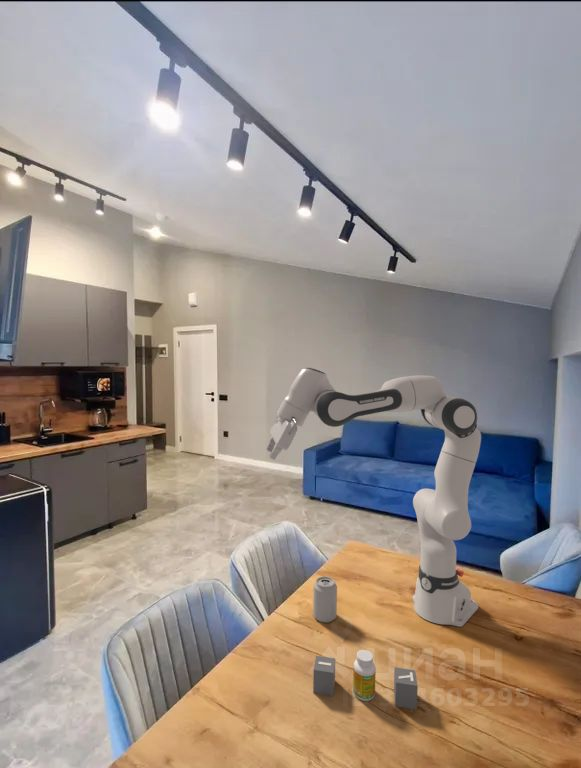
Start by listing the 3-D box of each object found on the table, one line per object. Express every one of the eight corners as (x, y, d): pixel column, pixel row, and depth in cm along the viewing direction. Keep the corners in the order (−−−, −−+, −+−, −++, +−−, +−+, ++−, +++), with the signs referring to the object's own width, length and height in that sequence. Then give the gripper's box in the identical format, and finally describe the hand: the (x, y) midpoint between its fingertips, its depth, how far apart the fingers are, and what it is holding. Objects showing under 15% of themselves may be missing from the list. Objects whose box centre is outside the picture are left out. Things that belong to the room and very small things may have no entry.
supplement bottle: (361, 705, 98) (362, 666, 98) (348, 688, 103) (349, 651, 102) (379, 696, 101) (380, 658, 100) (365, 681, 105) (366, 645, 105)
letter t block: (393, 690, 103) (394, 666, 103) (414, 693, 102) (415, 669, 102) (395, 706, 98) (395, 681, 98) (416, 710, 97) (417, 685, 97)
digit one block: (315, 677, 107) (316, 655, 106) (334, 680, 106) (335, 657, 105) (313, 692, 102) (313, 669, 101) (333, 696, 101) (333, 672, 100)
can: (336, 610, 135) (337, 575, 135) (336, 625, 128) (337, 587, 127) (313, 609, 136) (314, 574, 135) (312, 623, 129) (313, 586, 128)
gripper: (306, 425, 117) (283, 468, 116) (295, 414, 137) (275, 451, 137) (287, 415, 115) (264, 458, 115) (278, 406, 136) (258, 442, 136)
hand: (270, 454), depth 126 cm, fingers open, 8 cm apart
